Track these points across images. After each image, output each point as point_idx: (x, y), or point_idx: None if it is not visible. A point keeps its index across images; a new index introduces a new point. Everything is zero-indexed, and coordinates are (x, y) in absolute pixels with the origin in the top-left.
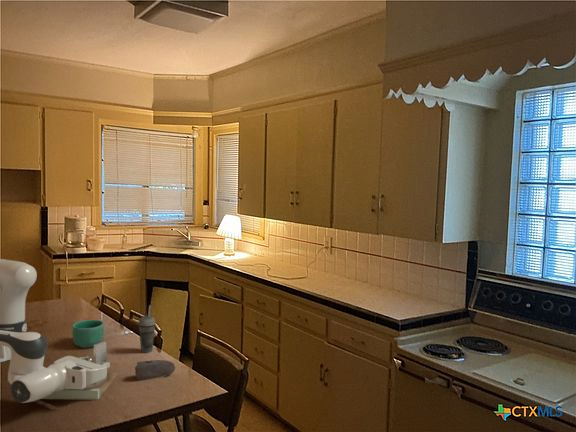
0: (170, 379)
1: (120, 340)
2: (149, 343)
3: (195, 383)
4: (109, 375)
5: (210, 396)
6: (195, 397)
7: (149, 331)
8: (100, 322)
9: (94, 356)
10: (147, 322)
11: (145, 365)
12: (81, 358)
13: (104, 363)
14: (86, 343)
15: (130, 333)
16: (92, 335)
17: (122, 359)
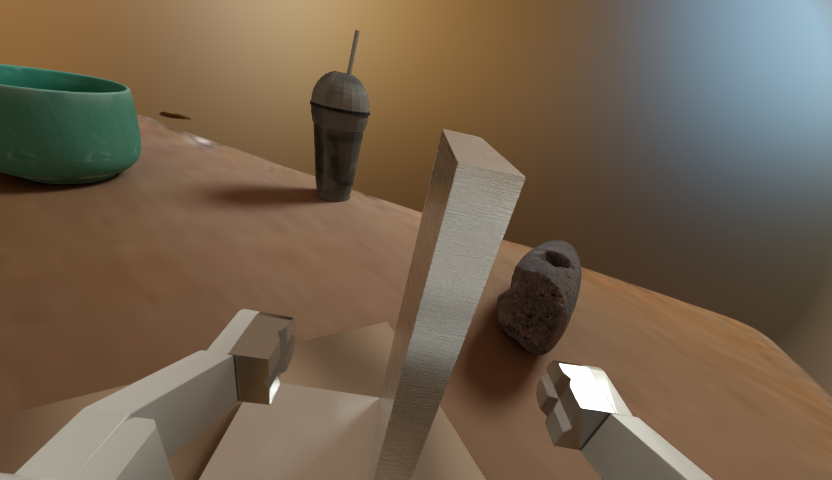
0: (576, 306)
1: (205, 161)
2: (352, 172)
3: (653, 308)
4: (367, 359)
5: (798, 365)
6: (802, 390)
7: (359, 132)
8: (109, 85)
9: (425, 341)
10: (358, 97)
11: (575, 283)
12: (160, 400)
13: (623, 420)
14: (64, 165)
15: (217, 144)
16: (90, 130)
17: (292, 231)
